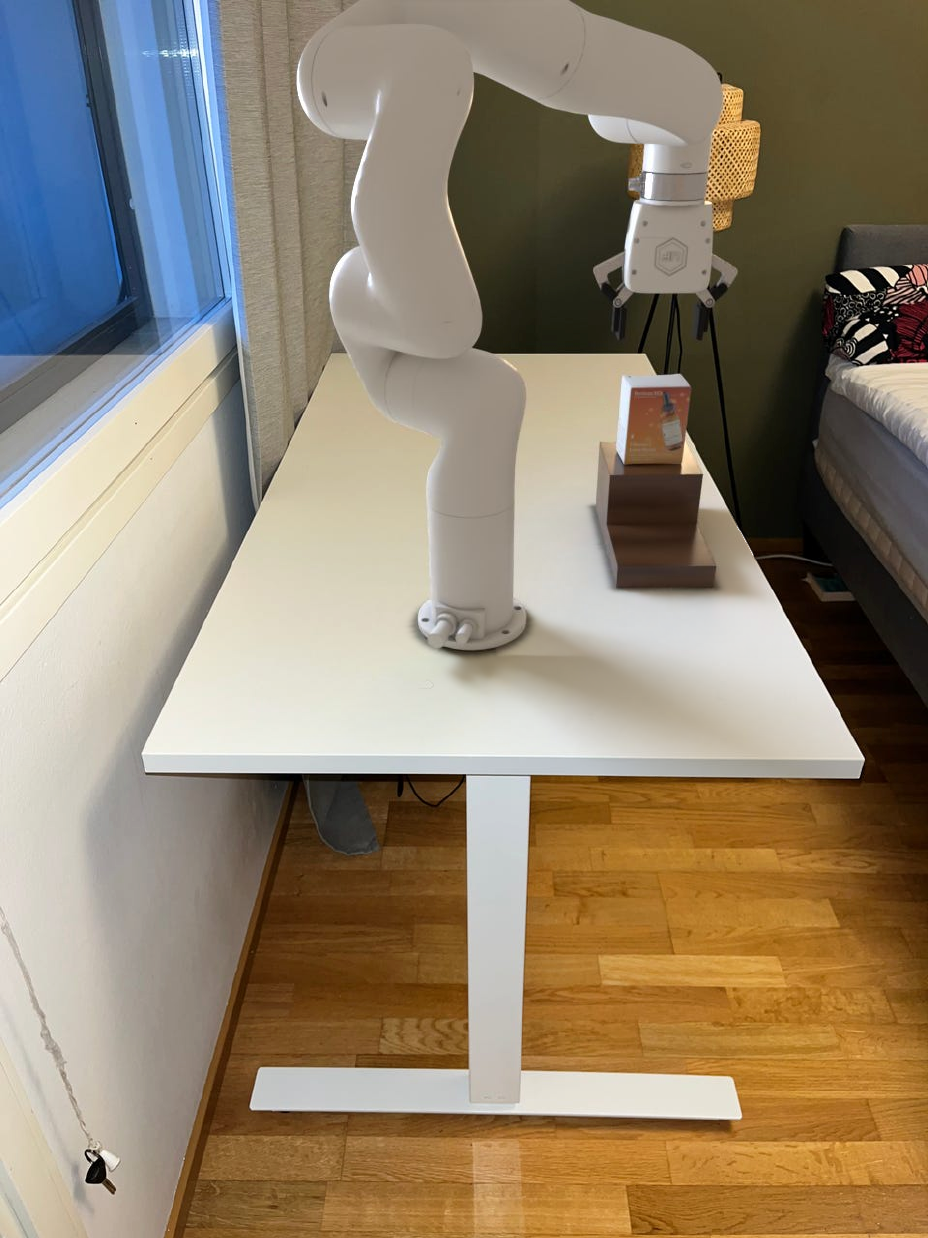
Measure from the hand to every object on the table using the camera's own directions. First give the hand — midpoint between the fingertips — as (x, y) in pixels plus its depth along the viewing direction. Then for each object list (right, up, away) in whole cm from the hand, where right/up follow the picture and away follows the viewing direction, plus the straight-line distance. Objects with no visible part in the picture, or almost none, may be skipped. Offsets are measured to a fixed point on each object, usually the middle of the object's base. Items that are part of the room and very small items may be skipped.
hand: (658, 337), depth 119 cm
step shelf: (+1, -25, +9) cm, 27 cm away
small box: (0, -14, +9) cm, 16 cm away
